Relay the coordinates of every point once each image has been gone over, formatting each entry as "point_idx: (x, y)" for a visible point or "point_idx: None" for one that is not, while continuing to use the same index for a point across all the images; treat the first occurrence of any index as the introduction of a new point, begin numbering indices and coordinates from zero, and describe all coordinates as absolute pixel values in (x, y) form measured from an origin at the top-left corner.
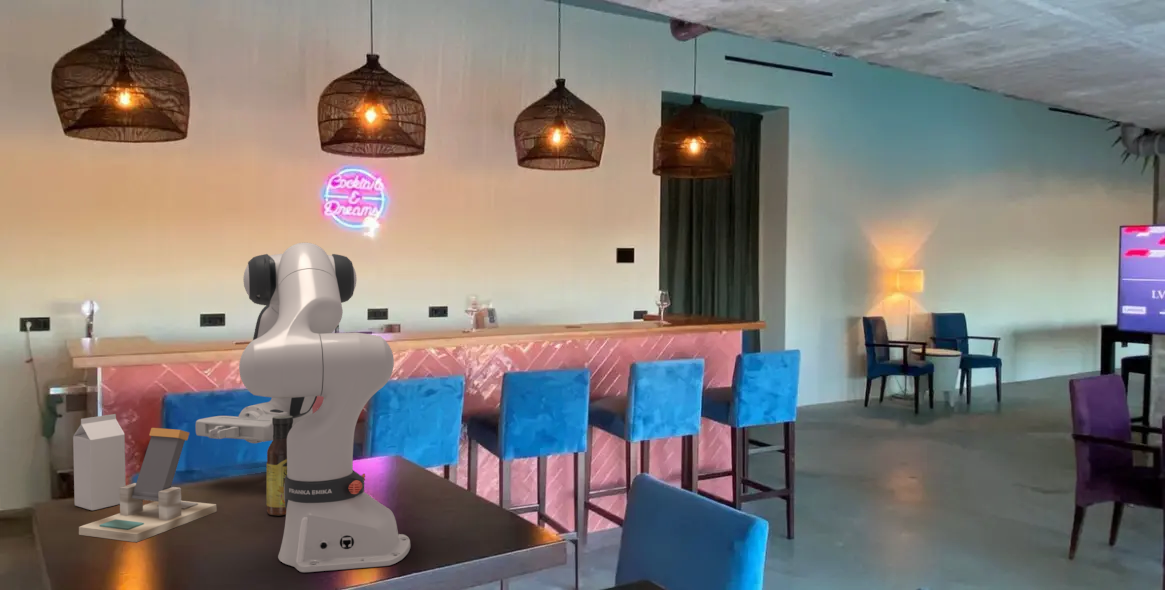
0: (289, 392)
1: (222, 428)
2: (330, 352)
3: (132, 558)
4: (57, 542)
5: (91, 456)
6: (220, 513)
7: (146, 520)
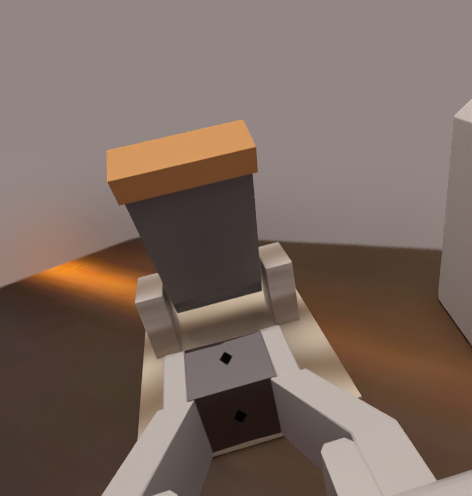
0: None
1: (326, 482)
2: None
3: (105, 279)
4: None
5: (449, 168)
6: None
7: (199, 310)
